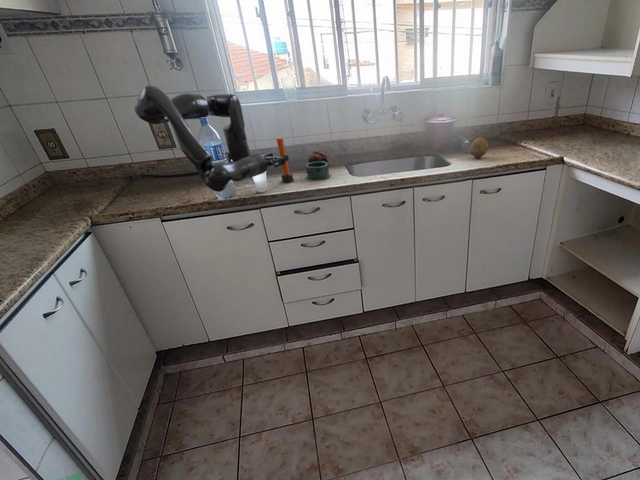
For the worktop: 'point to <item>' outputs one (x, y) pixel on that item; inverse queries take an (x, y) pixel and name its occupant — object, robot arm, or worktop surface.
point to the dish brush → (286, 175)
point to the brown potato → (478, 147)
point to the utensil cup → (317, 170)
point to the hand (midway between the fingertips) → (280, 156)
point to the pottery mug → (317, 157)
